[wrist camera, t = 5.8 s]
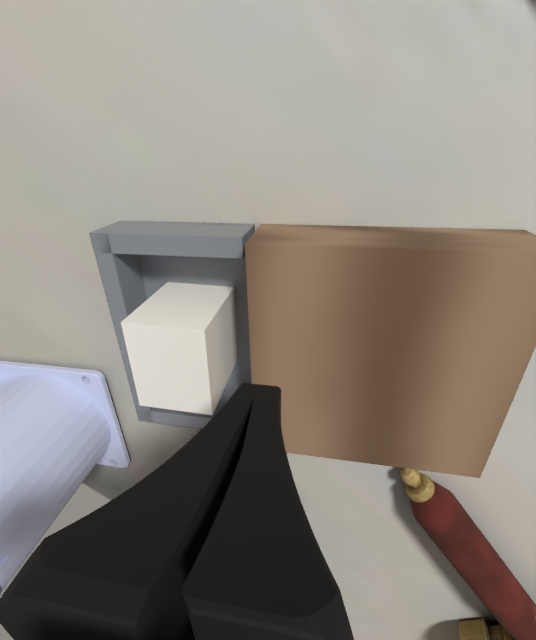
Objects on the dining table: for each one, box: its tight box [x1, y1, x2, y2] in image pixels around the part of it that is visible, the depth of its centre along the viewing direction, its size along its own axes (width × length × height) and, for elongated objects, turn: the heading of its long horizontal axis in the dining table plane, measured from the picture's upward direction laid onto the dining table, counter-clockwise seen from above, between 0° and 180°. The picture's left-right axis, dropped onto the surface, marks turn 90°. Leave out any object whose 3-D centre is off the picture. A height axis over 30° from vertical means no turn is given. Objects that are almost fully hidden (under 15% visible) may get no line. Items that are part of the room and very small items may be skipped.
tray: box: [89, 221, 255, 429], centre depth 16 cm, size 6×10×2 cm, turn 0°
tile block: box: [121, 282, 237, 415], centre depth 15 cm, size 4×4×3 cm
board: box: [245, 224, 536, 478], centre depth 14 cm, size 10×10×3 cm
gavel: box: [400, 468, 536, 640], centre depth 21 cm, size 21×5×10 cm
